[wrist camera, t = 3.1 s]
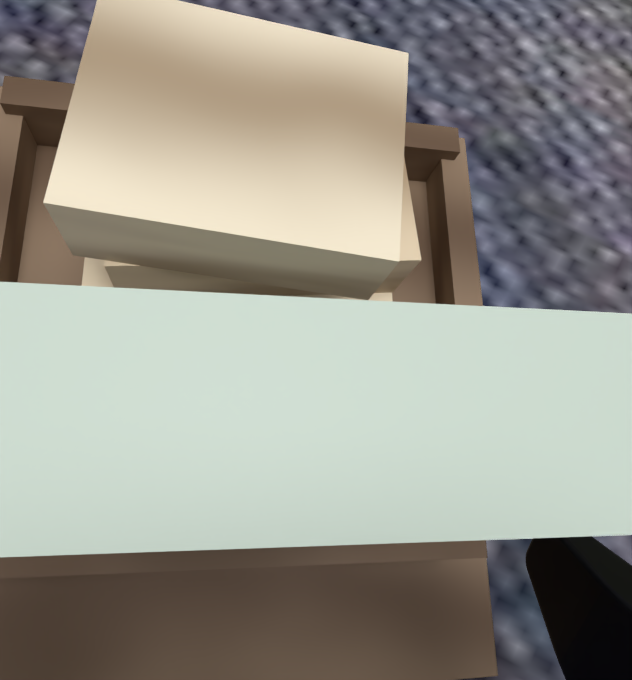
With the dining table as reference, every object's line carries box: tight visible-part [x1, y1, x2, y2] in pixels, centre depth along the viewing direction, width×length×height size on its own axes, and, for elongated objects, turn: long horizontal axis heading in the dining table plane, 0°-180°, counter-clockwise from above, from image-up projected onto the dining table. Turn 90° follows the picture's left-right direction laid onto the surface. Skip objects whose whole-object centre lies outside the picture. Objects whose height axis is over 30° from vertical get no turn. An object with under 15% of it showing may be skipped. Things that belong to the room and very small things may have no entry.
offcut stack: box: [43, 0, 421, 302], centre depth 15 cm, size 7×9×7 cm
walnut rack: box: [0, 76, 498, 680], centre depth 16 cm, size 18×16×4 cm
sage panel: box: [0, 282, 632, 557], centre depth 10 cm, size 2×7×13 cm, turn 91°
